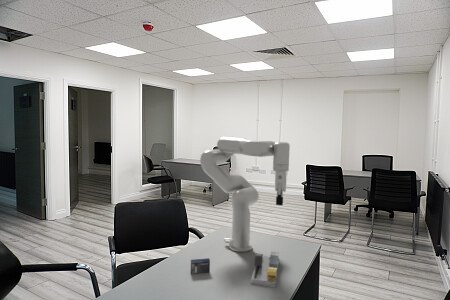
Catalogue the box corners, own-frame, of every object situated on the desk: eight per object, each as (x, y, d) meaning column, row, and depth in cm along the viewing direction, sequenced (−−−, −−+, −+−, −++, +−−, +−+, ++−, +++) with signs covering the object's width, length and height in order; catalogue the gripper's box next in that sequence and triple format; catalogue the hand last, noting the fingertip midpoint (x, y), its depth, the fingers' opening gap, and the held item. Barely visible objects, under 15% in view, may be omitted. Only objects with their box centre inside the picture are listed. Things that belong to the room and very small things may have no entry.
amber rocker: (265, 274, 123) (265, 271, 123) (267, 269, 132) (267, 266, 132) (276, 276, 122) (276, 272, 122) (277, 271, 131) (277, 268, 131)
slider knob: (254, 265, 134) (255, 255, 134) (255, 262, 137) (256, 252, 137) (261, 266, 133) (261, 256, 133) (262, 263, 136) (262, 253, 136)
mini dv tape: (191, 274, 129) (191, 261, 129) (190, 273, 131) (190, 259, 130) (209, 272, 132) (209, 259, 131) (208, 271, 133) (209, 258, 133)
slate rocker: (268, 265, 135) (268, 263, 135) (270, 253, 144) (270, 251, 144) (278, 266, 134) (278, 264, 134) (279, 255, 143) (279, 252, 143)
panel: (250, 283, 123) (251, 275, 123) (257, 259, 146) (258, 252, 146) (275, 287, 121) (275, 278, 121) (278, 262, 144) (279, 254, 144)
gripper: (288, 169, 137) (286, 209, 138) (289, 166, 152) (287, 201, 153) (271, 169, 139) (270, 207, 140) (274, 165, 153) (272, 200, 155)
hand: (279, 204), depth 146 cm, fingers closed
